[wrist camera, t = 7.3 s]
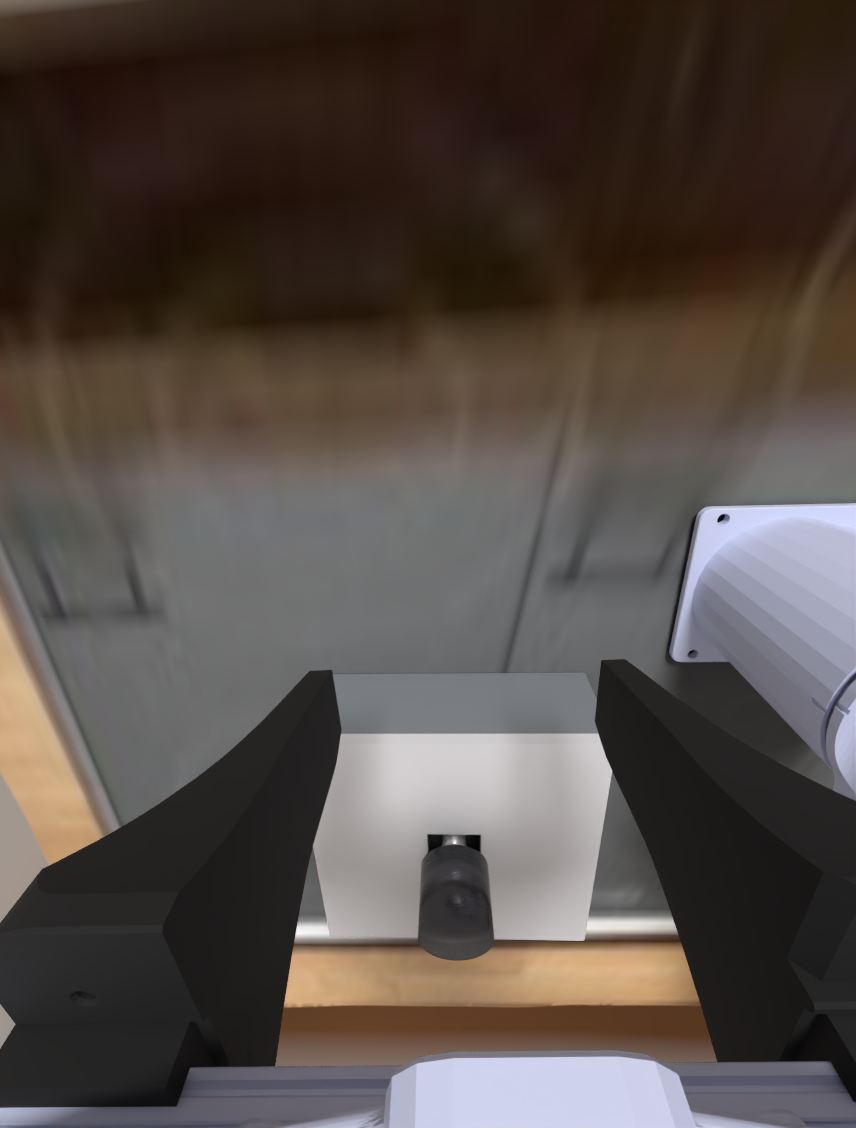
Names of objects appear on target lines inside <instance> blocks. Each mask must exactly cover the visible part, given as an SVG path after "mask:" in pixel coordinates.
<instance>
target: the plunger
mask: <svg viewBox="0 0 856 1128" xmlns="http://www.w3.org/2000/svg"><path fill="white" fill-rule="evenodd" d="M428 844H429V853H427V854H426V855H425V857H424V858H423V860H422V864H421V882H420V903H419V924H418V941H419V943H420V945H421V946H422V948H423V949H424V950H426V951H427V952H428V953H430V954H432V955H433V956H436V957H439V958H442V959H446V960H468V959H473V958H476V957H479V956H481V955H483V954H484V953H486V952H487V951H488V950H489V949H490V948H491V947H492V945H493V943H494V929H493V918H492V906H491V894H490V883H489V871H488V863H487V861H486V859H485V857H484V856H483V855H482V854H481V853H480V835H454V834H428Z"/></svg>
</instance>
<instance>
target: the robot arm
mask: <svg viewBox="0 0 856 1128" xmlns="http://www.w3.org/2000/svg"><path fill="white" fill-rule="evenodd" d="M721 514H725V517H724V519H723V520H722V521H721V522H717V519H718V517H719V516H720V515H721ZM691 650H694V652H693V653H691V654H688V653H689V652H690V651H691ZM669 654H670V655H671V657H672V658H673V659H674V660H675V661H677V662H730V663H731V664H732V665H733V666H734V667H735V669H736V670H737V671H738V672H739V673H740V674H741V675H742V676H743V677H744V678H745V679H746V680H747V681H748V682H749V683H750V684H751V685H752V686H753V688H754V689H755V690H756V691H757V692H758V693H759V694H760V695H761V696H762V697H763V698H764V699H765V700H766V701H767V702H768V703H769V704H770V705H771V707H772V708H773V709H774V710H775V711H776V712H777V713H778V714H779V715H780V716H781V717H782V718H783V719H784V720H785V721H786V722H787V723H788V724H789V726H790V727H791V728H792V729H793V730H794V731H795V732H796V733H797V734H798V735H799V736H800V737H801V738H802V739H803V740H804V741H805V742H806V743H807V745H808V746H809V747H810V748H811V749H812V750H813V751H814V752H815V753H816V754H817V755H818V756H819V757H820V758H821V759H822V760H823V761H824V762H825V764H826V765H827V766H828V767H829V768H830V769H831V770H832V771H833V772H834V775H835V782H834V787H833V789H832V790H831V789H829V788H827V787H824V786H822V785H820V784H818V783H816V782H814V781H812V780H810V779H808V778H806V777H804V776H802V775H800V774H798V773H796V772H794V771H792V770H790V769H788V768H786V767H785V766H783V765H781V764H779V763H777V762H775V761H773V760H772V759H770V758H768V757H766V756H765V755H763V754H761V753H759V752H758V751H756V750H754V749H752V748H751V747H749V746H747V745H745V744H744V743H742V742H740V741H739V740H737V739H736V738H734V737H732V736H731V735H729V734H728V733H726V732H725V731H723V730H722V729H720V728H719V727H717V726H716V725H714V724H712V723H711V722H709V721H708V720H706V719H705V718H703V717H702V716H701V715H699V714H698V713H696V712H695V711H693V710H692V709H691V708H689V707H688V706H686V705H685V704H684V703H682V702H681V701H680V700H678V699H677V698H676V697H674V696H673V695H672V694H670V693H669V692H668V691H666V690H665V689H664V688H662V687H661V686H660V685H658V684H657V683H656V682H654V681H653V680H652V679H650V678H649V677H648V676H647V675H645V674H644V673H643V672H641V671H640V670H639V669H637V668H636V667H635V666H633V665H632V664H631V663H629V662H628V661H626V660H625V659H621V660H601V669H600V678H599V687H598V696H597V704H596V713H595V724H596V727H597V730H598V734H599V737H600V740H601V743H602V746H603V749H604V752H605V755H606V758H607V760H608V762H609V765H610V767H611V769H612V771H613V773H614V776H615V778H616V780H617V782H618V784H619V787H620V789H621V791H622V793H623V795H624V797H625V799H626V801H627V804H628V806H629V808H630V810H631V812H632V814H633V816H634V819H635V821H636V823H637V825H638V827H639V829H640V831H641V834H642V836H643V838H644V840H645V842H646V845H647V847H648V850H649V852H650V854H651V857H652V859H653V862H654V865H655V868H656V871H657V873H658V876H659V879H660V882H661V885H662V887H663V890H664V893H665V896H666V899H667V901H668V904H669V907H670V910H671V913H672V916H673V919H674V922H675V925H676V928H677V931H678V934H679V937H680V940H681V943H682V946H683V949H684V952H685V956H686V959H687V962H688V965H689V968H690V972H691V975H692V978H693V981H694V984H695V988H696V991H697V994H698V997H699V1000H700V1004H701V1007H702V1010H703V1014H704V1017H705V1020H706V1024H707V1027H708V1031H709V1034H710V1037H711V1041H712V1044H713V1048H714V1051H715V1055H716V1058H717V1062H704V1063H703V1062H701V1063H700V1062H698V1063H662V1062H660V1061H658V1060H656V1059H654V1058H653V1057H651V1056H649V1055H647V1054H640V1053H632V1052H625V1051H617V1050H597V1051H596V1050H588V1051H586V1050H585V1051H492V1052H449V1053H442V1054H435V1055H429V1056H422V1057H419V1058H417V1059H416V1060H414V1061H412V1062H410V1063H408V1064H407V1065H383V1066H285V1067H284V1066H278V1067H275V1063H276V1056H277V1049H278V1042H279V1035H280V1027H281V1021H282V1013H283V1007H284V1001H285V994H286V988H287V982H288V975H289V969H290V963H291V956H292V950H293V945H294V939H295V933H296V927H297V922H298V916H299V910H300V905H301V899H302V894H303V889H304V884H305V878H306V873H307V868H308V863H309V859H310V855H311V851H312V847H313V844H314V840H315V837H316V833H317V830H318V826H319V823H320V820H321V816H322V813H323V809H324V806H325V802H326V799H327V795H328V792H329V788H330V785H331V781H332V778H333V774H334V771H335V767H336V762H337V756H338V751H339V744H340V737H341V731H342V728H341V722H340V716H339V710H338V703H337V697H336V691H335V685H334V679H333V673H332V670H322V671H309V672H308V673H307V674H306V675H305V677H304V678H303V679H302V680H301V681H300V682H299V683H298V684H297V685H296V686H295V687H294V688H293V689H292V690H291V691H290V692H289V694H288V695H287V696H286V697H285V698H284V699H283V700H282V701H281V702H280V703H279V704H278V705H277V706H276V707H275V708H274V709H273V710H272V711H271V712H270V714H269V715H268V716H267V717H266V718H265V719H264V720H263V721H262V722H261V723H260V724H259V725H258V726H257V727H256V728H254V729H253V730H252V731H251V732H250V733H249V734H248V735H247V736H246V737H245V738H244V739H243V740H242V741H241V742H240V743H238V744H237V745H236V746H235V747H234V748H233V749H232V750H231V751H229V752H228V753H227V754H226V755H225V756H224V757H222V758H221V759H220V760H219V761H217V762H216V763H215V764H214V765H212V766H211V767H210V768H209V769H207V770H206V771H205V772H203V773H202V774H201V775H200V776H198V777H197V778H196V779H194V780H193V781H191V782H190V783H188V784H187V785H186V786H184V787H183V788H181V789H180V790H178V791H177V792H176V793H174V794H173V795H171V796H170V797H168V798H167V799H165V800H164V801H163V802H161V803H160V804H158V805H157V806H155V807H154V808H152V809H150V810H149V811H147V812H146V813H144V814H142V815H141V816H139V817H138V818H136V819H134V820H133V821H131V822H129V823H128V824H126V825H124V826H122V827H121V828H119V829H117V830H116V831H114V832H112V833H110V834H109V835H107V836H105V837H103V838H101V839H100V840H98V841H96V842H94V843H92V844H90V845H88V846H86V847H84V848H83V849H81V850H79V851H77V852H75V853H73V854H71V855H69V856H67V857H65V858H63V859H61V860H60V861H58V862H56V863H54V864H52V865H50V866H48V867H46V868H43V869H42V870H41V871H40V873H39V874H38V875H37V876H36V878H35V879H34V880H33V882H32V883H31V884H30V885H29V887H28V888H27V889H26V890H25V892H24V893H23V894H22V896H21V897H20V898H19V900H18V901H17V902H16V903H15V905H14V906H13V907H12V909H11V910H10V911H9V912H8V914H7V915H6V916H5V918H4V919H3V920H2V921H1V923H0V1004H1V1005H2V1007H3V1008H4V1009H5V1011H6V1012H7V1013H8V1015H9V1016H10V1017H11V1018H12V1020H13V1021H14V1022H15V1024H16V1025H15V1026H14V1028H13V1030H12V1031H11V1033H10V1034H9V1036H8V1038H7V1039H6V1041H5V1042H4V1044H3V1045H2V1047H1V1049H0V1128H856V503H846V504H800V505H754V506H710V507H705V508H703V509H702V510H701V511H700V512H699V513H698V514H697V517H696V521H695V526H694V531H693V536H692V541H691V546H690V551H689V556H688V561H687V566H686V571H685V576H684V581H683V585H682V590H681V595H680V600H679V605H678V610H677V615H676V620H675V625H674V630H673V635H672V640H671V645H670V650H669Z"/></svg>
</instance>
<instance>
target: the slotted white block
mask: <svg viewBox="0 0 856 1128" xmlns="http://www.w3.org/2000/svg"><path fill="white" fill-rule="evenodd" d="M333 679H334V685H335V691H336V697H337V703H338V710H339V716H340V722H341V728H342V731H341V737H340V744H339V751H338V756H337V762H336V767H335V771H334V774H333V778H332V781H331V785H330V788H329V792H328V795H327V799H326V802H325V806H324V809H323V813H322V816H321V820H320V823H319V826H318V830H317V833H316V837H315V840H314V844H313V849H314V854H315V859H316V865H317V870H318V875H319V881H320V886H321V891H322V896H323V902H324V907H325V912H326V917H327V923H328V928H329V933H330V936H351V937H406V938H418V924H419V903H420V882H421V864H422V860H423V858H424V857H425V855H426V854H427V853H429V844H428V834H454V835H480V853H481V854H482V855H483V856H484V857H485V859H486V861H487V863H488V871H489V883H490V894H491V906H492V918H493V929H494V939H517V940H572V941H584V939H585V933H586V927H587V921H588V915H589V909H590V903H591V897H592V890H593V884H594V878H595V872H596V866H597V860H598V854H599V848H600V842H601V836H602V830H603V824H604V818H605V811H606V805H607V799H608V793H609V787H610V781H611V775H612V769H611V767H610V765H609V762H608V760H607V758H606V755H605V752H604V749H603V746H602V743H601V740H600V737H599V734H598V730H597V727H596V724H595V713H596V704H597V699H596V697H595V695H594V692H593V690H592V688H591V686H590V683H589V681H588V679H587V677H586V675H585V673H449V674H333Z"/></svg>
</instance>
